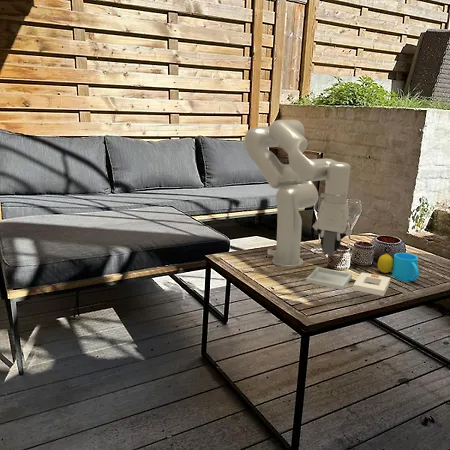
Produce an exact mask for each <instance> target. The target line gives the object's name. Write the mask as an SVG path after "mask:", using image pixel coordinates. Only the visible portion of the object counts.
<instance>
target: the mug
mask: <svg viewBox="0 0 450 450" xmlns="http://www.w3.org/2000/svg"><path fill="white" fill-rule="evenodd" d="M418 263H419V256H417V255H415V254H412V253H409V252H408V253H407V252H396V253H395V254H394V255H393V268H392V270H391V271H392V272H391V275H392V276H393V277H394V279H395V280H397V281H398V280H399V281H402V282H414V281H416V280H417V279H418V278H419V276H420V272H419V271H420V270H419V267H418Z"/></svg>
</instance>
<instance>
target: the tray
mask: <svg viewBox="0 0 450 450" xmlns="http://www.w3.org/2000/svg"><path fill="white" fill-rule="evenodd" d="M352 278H353V274H352V273H351V272H345V271H341V270H335V269H329V268H324V267H319V266H317V267H316V268H314V270H313V271H312V272H311V273H310V274H309V275H308V276H307V277H306V278H305V282H306V283H309V284H311V285H313V284H314V285H318V286H321V287H326V288H331V289H332V288H333V289H335V290H341V291H343V290H344V289H345V288H346V286H347V285H348V283H349V282H350V281H351V279H352Z"/></svg>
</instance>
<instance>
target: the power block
mask: <svg viewBox="0 0 450 450" xmlns="http://www.w3.org/2000/svg"><path fill="white" fill-rule="evenodd" d="M391 280H392V279H391V277H387V276H383V275H380V274H375V273H368V272H361V273H360V274H359V276H358V277H357V279H356V280H355V281H354V283H353V286H352V290H353V291H356V292H357V291H358V292H362V293H365V294H370V295H376V296H381V297H384V296H385V294H386V293H387V290H388V288H389V286H390V283H391Z"/></svg>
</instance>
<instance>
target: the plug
mask: <svg viewBox="0 0 450 450" xmlns="http://www.w3.org/2000/svg"><path fill="white" fill-rule="evenodd" d="M336 239H337V233H336V232H331V231H324V238H323V247H322V246H321V247H322V248H321V253H322V254H327V255H332V256H333V255H335V253H337V251H335V250H334V249H335V241H336Z"/></svg>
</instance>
